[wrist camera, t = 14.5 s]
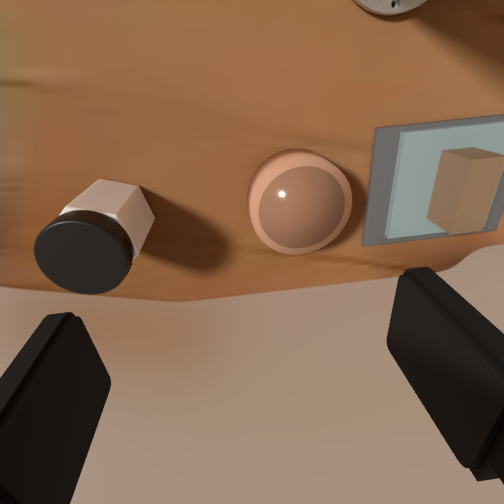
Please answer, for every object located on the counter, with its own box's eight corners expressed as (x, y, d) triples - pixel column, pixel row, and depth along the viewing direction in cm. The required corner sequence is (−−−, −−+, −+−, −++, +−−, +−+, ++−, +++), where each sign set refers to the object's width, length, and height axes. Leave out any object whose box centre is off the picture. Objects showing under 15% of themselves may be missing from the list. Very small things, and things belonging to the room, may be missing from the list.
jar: (128, 252, 41) (97, 311, 31) (70, 216, 38) (14, 268, 28) (167, 206, 38) (148, 253, 28) (108, 163, 35) (62, 198, 25)
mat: (534, 111, 37) (539, 111, 36) (492, 228, 45) (495, 230, 44) (375, 127, 36) (377, 128, 35) (361, 244, 44) (363, 246, 44)
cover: (513, 119, 36) (561, 126, 31) (478, 224, 44) (514, 243, 38) (400, 131, 36) (431, 140, 31) (384, 235, 43) (407, 257, 38)
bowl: (311, 127, 36) (323, 134, 31) (352, 205, 41) (368, 220, 37) (228, 185, 38) (229, 199, 34) (277, 251, 44) (284, 270, 39)
